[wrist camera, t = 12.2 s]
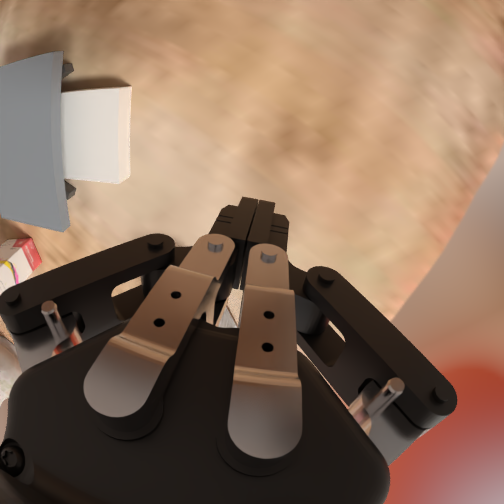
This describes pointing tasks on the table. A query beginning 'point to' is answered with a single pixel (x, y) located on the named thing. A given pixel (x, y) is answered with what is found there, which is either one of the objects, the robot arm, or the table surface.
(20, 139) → the grey miniature bench
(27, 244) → the ink cartridge box
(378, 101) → the table surface
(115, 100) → the white eraser-like slab
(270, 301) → the robot arm
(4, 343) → the ceramic pitcher
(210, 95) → the table surface
